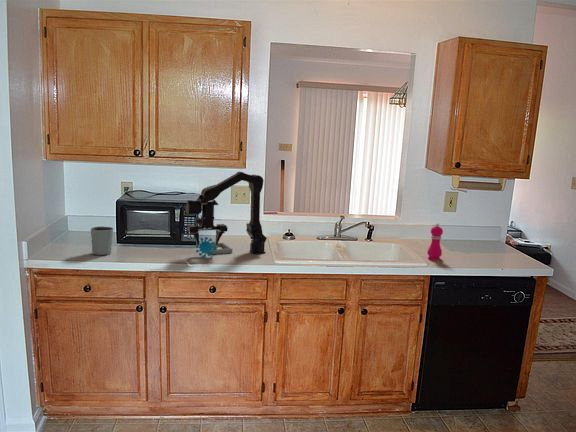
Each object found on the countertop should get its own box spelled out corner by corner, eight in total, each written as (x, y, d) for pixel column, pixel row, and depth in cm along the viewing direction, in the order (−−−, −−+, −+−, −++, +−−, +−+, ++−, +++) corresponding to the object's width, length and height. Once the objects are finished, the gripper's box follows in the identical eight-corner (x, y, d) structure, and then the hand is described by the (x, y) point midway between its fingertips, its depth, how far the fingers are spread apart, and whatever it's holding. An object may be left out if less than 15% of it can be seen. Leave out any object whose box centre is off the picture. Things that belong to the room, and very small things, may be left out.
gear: (193, 256, 234) (196, 236, 236) (196, 258, 239) (198, 238, 242) (216, 257, 233) (218, 237, 236) (218, 259, 239) (220, 240, 241)
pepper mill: (431, 263, 248) (435, 224, 244) (423, 259, 254) (427, 222, 251) (443, 262, 250) (447, 224, 247) (435, 259, 256) (439, 222, 253)
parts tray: (223, 247, 258) (223, 242, 257) (232, 253, 245) (232, 248, 245) (203, 248, 253) (203, 243, 253) (212, 254, 240) (212, 249, 240)
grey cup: (86, 252, 231) (86, 228, 229) (102, 249, 240) (102, 225, 238) (101, 256, 227) (101, 231, 225) (118, 252, 236) (117, 228, 234)
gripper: (221, 211, 244) (220, 241, 247) (184, 211, 236) (183, 243, 238) (228, 214, 234) (227, 246, 237) (190, 215, 226) (189, 248, 228)
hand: (207, 245), depth 235 cm, fingers open, 9 cm apart
